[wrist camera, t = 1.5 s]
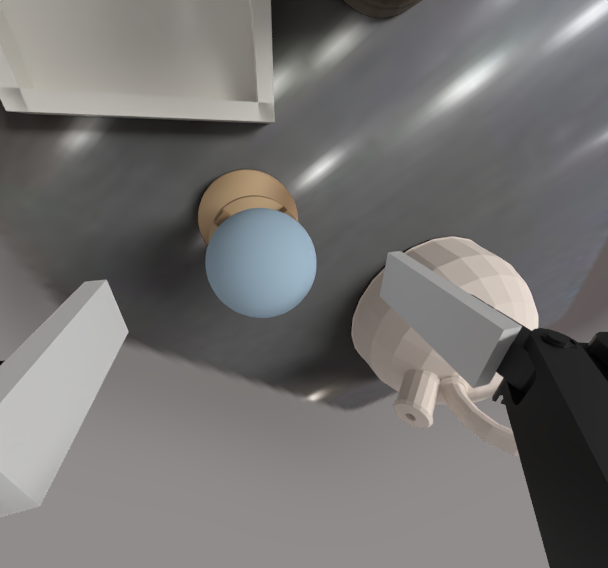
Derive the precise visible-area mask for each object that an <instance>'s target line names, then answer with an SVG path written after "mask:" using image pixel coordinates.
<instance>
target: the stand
mask: <svg viewBox="0 0 608 568" xmlns="http://www.w3.org/2000/svg"><path fill="white" fill-rule="evenodd" d="M251 208H268V209H274V210H277V211H280V212H283V213H285V214H287V215H289V216H290V217H292V218H293V219H294V220H296V221H297V222H298V214H297V208H296V205H295V202H294V200H293V198H292V196H291V195H290V193H289V192H288V190H287V189H286V188H285V187H284V186H283V185H282V184H281V183H280V182H279V181H278V180H276V179H275V178H273V177H272V176H270V175H268V174H266V173H263V172H261V171H257V170H251V169H240V170H235V171H231V172H228V173H225V174H224V175H222V176H220V177H218V178H217V179H216V180H215V181H213V183H212V184H211V185H210V186H209V187H208V188H207V190H206V191H205V193H204V195H203V197H202V200H201V203H200V206H199V211H198V223H199V229H200V233H201V235H202V237H203V240H204V241H205V243H206V245H207V246H208V244H209V241H210V239H211V237H212V235H213V233H214V232H215V230H216V229H217V228H218V227H219V226H220V225H221V224H222V223H223V222H224V221H225V220H226V219H228V218H229V217H230V216H232V215H234V214H236V213H238V212H240V211H243V210H247V209H251Z"/></svg>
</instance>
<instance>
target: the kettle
mask: <svg viewBox="0 0 608 568" xmlns="http://www.w3.org/2000/svg"><path fill="white" fill-rule="evenodd" d="M404 254H406V255H407V256H409V257H411V258H412V259H414V260H416V261H417V262H419V263H420V264H422V265H424V266H425V267H427V268H429V269H430V270H432V271H433V272H435V273H437V274H438V275H440V276H442V277H443V278H445V279H446V280H448V281H450V282H451V283H453V284H454V285H456V286H458V287H459V288H461V289H463V290H464V291H466V292H467V293H469V294H471V295H474V296H476V297H477V298H479V299H481V300H482V301H484V302H485V304H489V305H490V306H492V307H494V309H495V310H496V309H497V310H499V311H500V312H502V313H504V314H505V315H507V316H508V317H510V318H512V319H513V320H515V321H517V322H518V323H520V324H521V325H523V326H525V327H526V328H528V329H530V330H531V331H532V330H534V329H538V313H537V310H536V307H535V304H534V301H533V297H532V294H531V292H530V290H529V288H528V286H527V284H526V283H525V281H524V280H523V279H522V278H521V277H520V275H519V274H518V273H517V272H516V271H515V269H514V268H513V267H512V266H511V265H510V264H509V263H507V262H506V261H504V260H503V259H501V258H500V257H498V256H496V255H495V254H493V253H491V252H489V251H487V250H486V249H484V248H482V247H480V246H479V245H477V244H476V243H474V242H473V241H471V240H470V239H464V238H459V237H446V238H439V239H432V240H430V241H428V242H425V243H423V244H420V245H418V246H415V247H413V248H411V249H409V250H408V251H406V252H405V253H404ZM384 270H385V268H384V269H383V270H382V271H381V272H380V273H379V274H378V275H377V276H376V277H375V278H374V279H373V280H372V282H371V283H370V285H369V286H368V288H367V289H366V291H365V292H364V294H363V295H362V297H361V298H360V300H359V303H358V305H357V308H356V311H355V313H354V316H353V321H352V332H351V335H352V339H353V343H354V347H355V349H356V350H357V352H358V353H359V354H360V356H361V357H362V358H363V359H364V360H365V361H366V362H367V363H368V365H369V366H370V367H371V369H372V370H373V371H374V372H375V374H376V375H377V376H378V378H379V379H380V380H381V381H383V382H384V383H386V384H387V385H389V386H390V387H392V388H393V389H395V390H396V391H398V392H399V394H398V397H397V400H395V401H394V403H393V406H394V410H395V412H396V414H397V415H398V416H399V417H400V418H401V419H402V420H403V421H404V422H406V423H408V424H409V425H412V426H414V427H417V428H427V427H429V426H431V425H432V424H433V418H432V415H433V412H434V408H435V405H436V404H439V405H448V407H449V408H450V409H451V410H452V412H453V413H454V414H455V415H456V417H457V418H458V419H459V420H460V421H461V423H462V424H463V425H464V426H465V427H467V428H468V429H469V430H471V431H472V432H473V433H474V434H476V435H477V436H478V437H480V438H481V439H482V440H484V441H485V442H487V443H489V444H491V445H493V446H495V447H497V448H499V449H501V450H503V451H505V452H507V453H509V454H511V455H514V456H519V453H518V449H517V446H516V442H515V438H514V435H513V431H512V430H511V429H509V428H507V427H505V426H502V425H500V424H498V423H496V422H495V421H494V420H492V419H491V418H490V417H488V416H487V415H486V414H484V413H483V412H481V411H480V410H479V409H478V408H477V407H476V406H475V405H474V404H473V403H475V402H478V401H481V400H484V399H487V398H489V397H492V396H493V395H494V393H495V391H496V390H497V388H498V386H499V385H500V383H501V381H502V380H503V377H502V376H501V375H499V374H498V373H497V372H496V373H495V375H494V377H493V379H492V381H491V382H490V384H488V385H484V386H480V387H477V388H472V387H471V386H470V385H469V384H468V383H467V382H466V381H465V380H464V379H463V378H462V377H461V376H460V375H459V374H458V373H457V372H456V371H455V370H454V369H453V368H452V367H451V366H450V365H449V364H448V363H447V362H446V361H445V360H444V359H443V358H442V357H441V356H440V355H439V354H438V353H437V352H436V351H435V350H434V349H433V348H432V347H431V346H430V345H429V344H428V343H427V342H426V341H425V340H424V339H423V338H422V337H421V336H420V335H419V334H418V333H417V332H416V331H415V330H414V329H413V328H412V327H411V326H410V325H409V324H408V323H407V322H406V321H405V320H404V319H403V318H402V317H401V316H399V315H398V314H397V313H396V312H395V311H394V310H393V309H392V308H391V307H390V306H389V305H388V304H387V303H386V302H385V301H384V300H383V299H382V298H381V297H380V291H381V286H382V281H383V276H384Z"/></svg>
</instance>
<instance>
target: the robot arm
mask: <svg viewBox="0 0 608 568" xmlns="http://www.w3.org/2000/svg"><path fill="white" fill-rule="evenodd" d="M380 297H381V298H382V299H383V300H384V301H385V302H386V303H387V304H388V305H389V306H390V307H391V308H392V309H393V310H394V311H395V312H396V313H397V314H398V315H399V316H401V317H402V318H403V319H404V320H405V321H406V322H407V323H408V324H409V325H410V326H411V327H412V328H413V329H414V330H415V331H416V332H417V333H418V334H419V335H420V336H421V337H422V338H423V339H424V340H425V341H426V342H427V343H428V344H429V345H430V346H431V347H432V348H433V349H434V350H435V351H436V352H437V353H438V354H439V355H440V356H441V357H442V358H443V359H444V360H445V361H446V362H447V363H448V364H449V365H450V366H451V367H452V368H453V369H454V370H455V371H456V372H457V373H458V374H459V375H460V376H461V377H462V378H463V379H464V380H465V381H466V382H467V383H468V384H469V385H470V386H471V387H472V388H477V387H480V386H484V385H488V384H490V382H491V381H492V379H493V377H494V375H495V373H496V372H497V373H498V374H499V375H501V376H502V377H503V380H502V381H501V383H500V385H499V386H498V388H497V390H496V391H495V393H494V395H493V398H492V399H493V401H496V400H497V399H498V397H499V396H500V395H503V400H502V402H501V403H502V404H505V405H506V409H507V413H508V416H509V420H510V424H511V427H512V431H513V435H514V438H515V442H516V446H517V449H518V453H519V457H520V460H521V463H522V467H523V471H524V475H525V478H526V482H527V486H528V489H529V493H530V497H531V500H532V504H533V508H534V511H535V515H536V519H537V522H538V526H539V530H540V533H541V537H542V541H543V544H544V548H545V552H546V555H547V559H548V563H549V566H550V568H608V332H599V333H597V334H596V335H595V336H594V337H593V339H592V340H591V341H590V342H589V343H578V342H576V341H575V340H574V339H571V338H570V337H568V336H566V335H564V334H561V333H559V332H556V331H553V330H549V329H543V328H538V329H534V330H532V331H531V330H530V329H528V328H526V327H525V326H523V325H521V324H520V323H518V322H517V321H515V320H513V319H512V318H510V317H508V316H507V315H505V314H504V313H502V312H500V311H499V310H497V309H496V310H495V309H494V307H492V306H490V305H489V304H485V302H484V301H482V300H481V299H479V298H477V297H476V296H474V295H471V294H469V293H467V292H466V291H464V290H463V289H461V288H459V287H458V286H456V285H454V284H453V283H451V282H450V281H448V280H446V279H445V278H443V277H442V276H440V275H438V274H437V273H435V272H433V271H432V270H430V269H429V268H427V267H425V266H424V265H422V264H420V263H419V262H417V261H416V260H414V259H412V258H411V257H409V256H407V255H406V254H404V253H403V252H401V251H397V252H388V255H387V260H386V265H385V270H384V276H383V281H382V286H381V291H380ZM127 334H128V329H127V327H126V324H125V322H124V320H123V317H122V315H121V313H120V310H119V308H118V305H117V303H116V301H115V298H114V296H113V294H112V291H111V289H110V286H109V284H108V282H107V280H97V281H86V282H84V283H83V284H82V285H81V286H80V287H79V288H78V289H77V290H76V291H75V292H74V293H73V294H72V295H71V296H70V297H69V298H68V299H67V300H66V301H65V302H64V303H63V304H62V305H61V306H60V307H59V308H58V309H57V310H56V311H55V312H54V313H53V314H52V315H51V316H50V317H49V318H48V319H47V320H46V321H45V322H44V323H43V324H42V325H41V326H40V327H39V328H38V329H37V330H36V331H35V332H34V333H33V334H32V335H30V337H29V338H27V339H26V341H25V342H23V343H22V344H21V346H20V347H18V349H16V350H15V351H14V352H13V353H12V354H11V355H10V356H9V357H8V358H7V359H6V360H5V361H0V517H2V516H6V515H10V514H13V513H17V512H21V511H24V510H28V509H31V508H36V507H39V506H40V505H41V503H42V501H43V499H44V497H45V495H46V493H47V491H48V489H49V487H50V485H51V483H52V481H53V479H54V477H55V475H56V474H57V472H58V469H59V468H60V466H61V464H62V462H63V460H64V458H65V456H66V454H67V452H68V450H69V448H70V446H71V444H72V442H73V440H74V438H75V436H76V434H77V432H78V430H79V428H80V426H81V424H82V422H83V420H84V418H85V416H86V414H87V412H88V411H89V409H90V407H91V405H92V403H93V401H94V399H95V397H96V395H97V393H98V391H99V389H100V387H101V385H102V383H103V381H104V379H105V377H106V375H107V373H108V371H109V369H110V367H111V365H112V363H113V361H114V359H115V357H116V355H117V353H118V351H119V349H120V348H121V346H122V344H123V342H124V340H125V338H126V336H127Z"/></svg>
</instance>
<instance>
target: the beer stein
mask: <svg viewBox="0 0 608 568" xmlns="http://www.w3.org/2000/svg"><path fill="white" fill-rule="evenodd" d="M343 1H344V2H345V3H346V4H348V5H349V6H351V7H352V8H354V9H355V10H357V11H359V12H360V13H362V14H365V15H367V16H372V17H381V18H386V17H390V16H395V15H399V14H402V13H403V12H405V11H406V10H408V9H409V8H411V7H413V6H414V5H416V4H417V3H419V2H421V1H422V0H343Z"/></svg>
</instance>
